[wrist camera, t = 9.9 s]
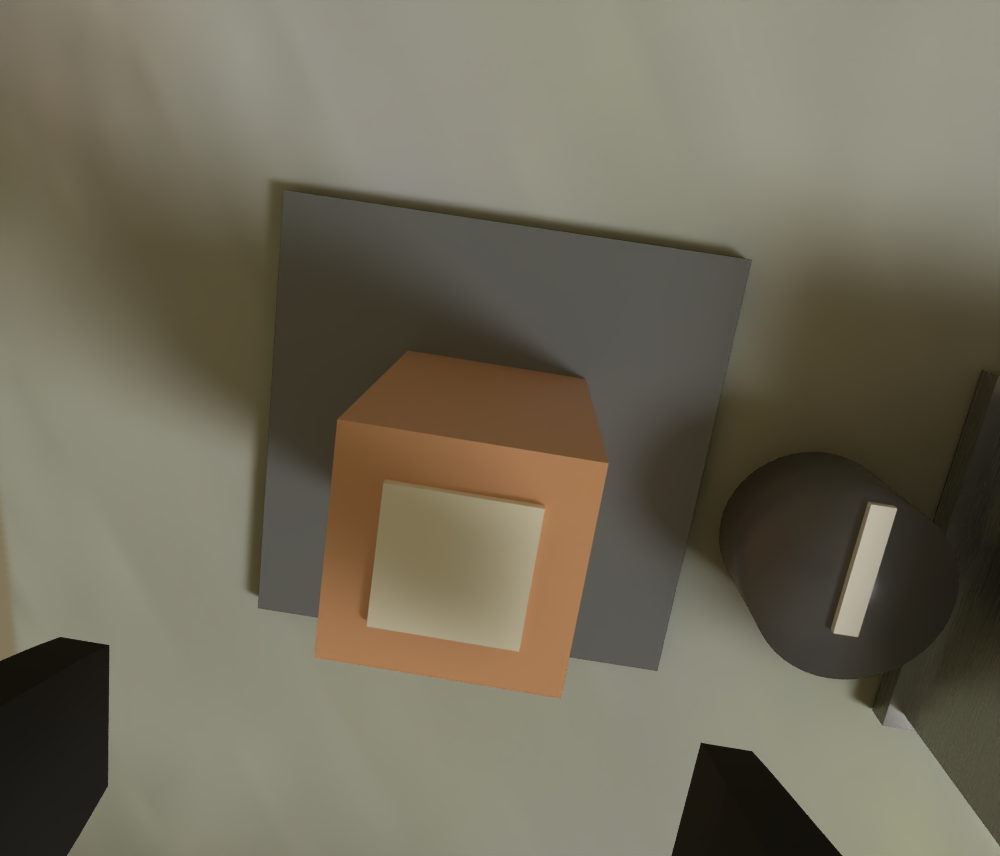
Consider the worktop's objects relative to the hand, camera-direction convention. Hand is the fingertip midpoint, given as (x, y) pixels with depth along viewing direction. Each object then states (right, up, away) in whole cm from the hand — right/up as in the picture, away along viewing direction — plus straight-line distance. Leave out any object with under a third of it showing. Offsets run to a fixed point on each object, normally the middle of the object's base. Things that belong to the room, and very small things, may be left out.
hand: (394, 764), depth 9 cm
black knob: (+9, +2, +9) cm, 12 cm away
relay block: (+1, +4, +8) cm, 9 cm away
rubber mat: (+1, +4, +9) cm, 9 cm away
